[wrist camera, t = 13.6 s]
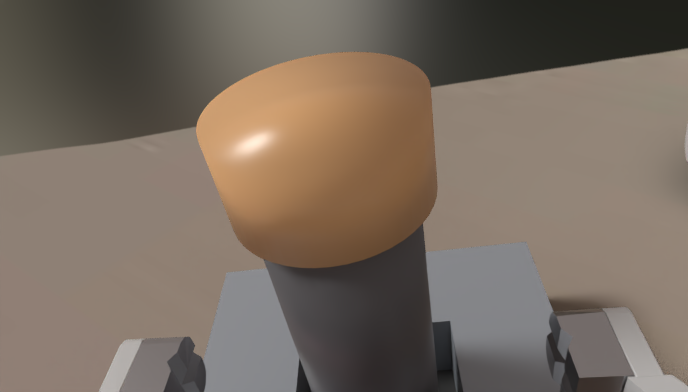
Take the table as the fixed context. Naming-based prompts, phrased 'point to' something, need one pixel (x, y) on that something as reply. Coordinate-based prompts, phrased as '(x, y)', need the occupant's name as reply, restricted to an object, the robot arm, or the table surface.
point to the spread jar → (686, 145)
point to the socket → (447, 319)
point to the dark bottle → (336, 209)
